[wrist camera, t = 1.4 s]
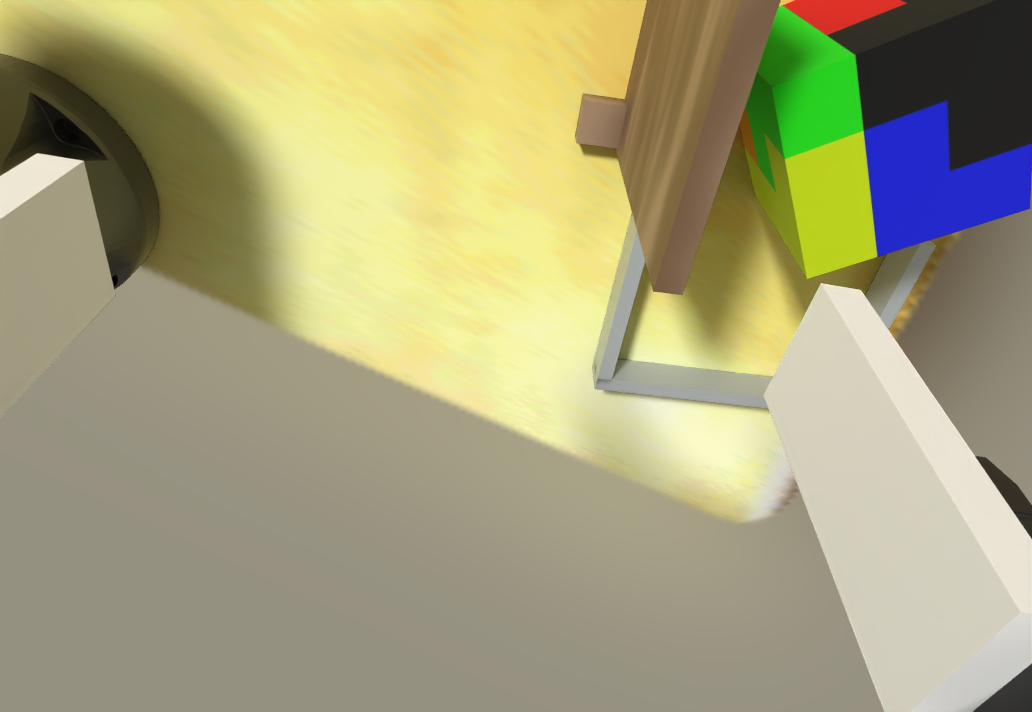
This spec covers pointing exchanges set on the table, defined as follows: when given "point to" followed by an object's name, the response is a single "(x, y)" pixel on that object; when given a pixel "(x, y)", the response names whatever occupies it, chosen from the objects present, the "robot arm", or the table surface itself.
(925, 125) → the puzzle toy
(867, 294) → the corral
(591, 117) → the screen
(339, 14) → the table surface
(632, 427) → the table surface
